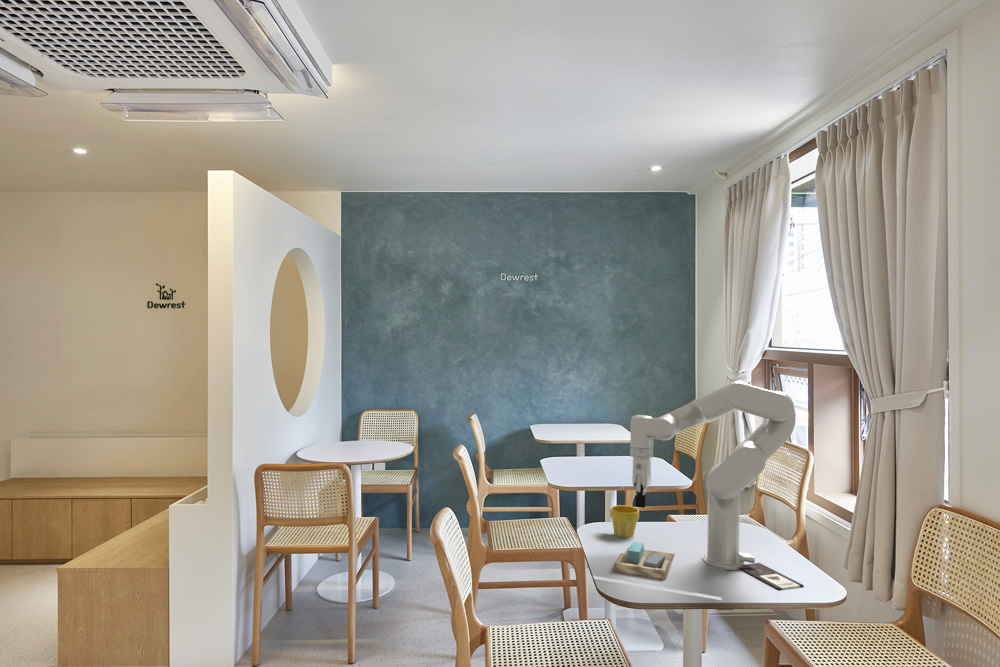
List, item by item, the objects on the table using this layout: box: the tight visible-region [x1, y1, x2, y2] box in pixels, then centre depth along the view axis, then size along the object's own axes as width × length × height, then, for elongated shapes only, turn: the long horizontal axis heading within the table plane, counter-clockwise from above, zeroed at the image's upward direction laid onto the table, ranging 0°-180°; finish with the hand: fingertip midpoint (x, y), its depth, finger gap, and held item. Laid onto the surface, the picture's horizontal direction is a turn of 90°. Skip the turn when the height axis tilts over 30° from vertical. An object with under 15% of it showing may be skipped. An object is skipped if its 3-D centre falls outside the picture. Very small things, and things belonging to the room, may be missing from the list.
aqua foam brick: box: [627, 541, 645, 563], centre depth 192 cm, size 4×9×4 cm, turn 158°
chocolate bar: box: [739, 562, 804, 591], centre depth 180 cm, size 9×1×18 cm
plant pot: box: [609, 504, 640, 539], centre depth 216 cm, size 10×10×10 cm
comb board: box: [613, 546, 676, 581], centre depth 188 cm, size 15×24×3 cm, turn 158°
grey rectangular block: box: [644, 553, 665, 569], centre depth 182 cm, size 4×9×4 cm, turn 148°
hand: (640, 506), depth 201 cm, fingers closed
